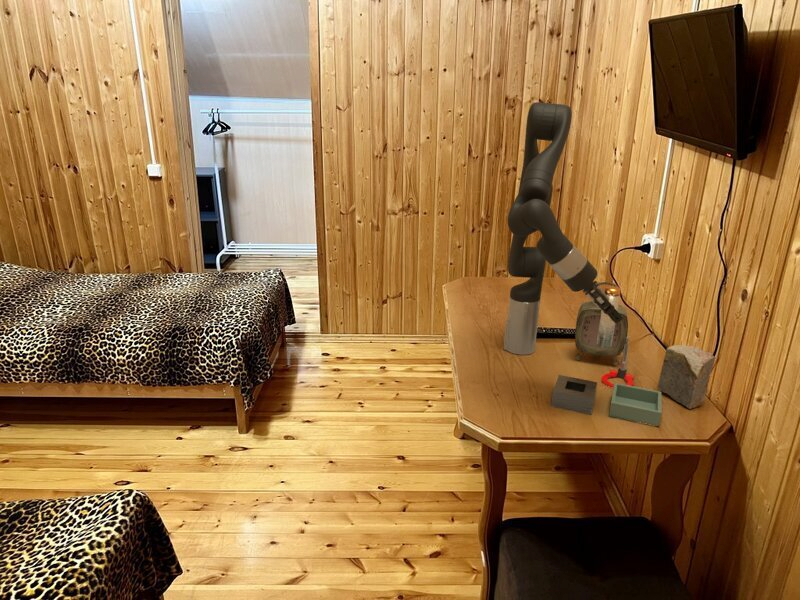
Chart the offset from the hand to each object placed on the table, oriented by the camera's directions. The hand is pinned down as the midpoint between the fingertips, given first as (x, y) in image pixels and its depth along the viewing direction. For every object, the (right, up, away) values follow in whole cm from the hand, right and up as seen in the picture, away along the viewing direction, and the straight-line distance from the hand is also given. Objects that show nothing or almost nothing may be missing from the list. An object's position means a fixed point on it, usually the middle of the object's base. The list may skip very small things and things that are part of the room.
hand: (616, 317), depth 141 cm
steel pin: (-2, -7, +3) cm, 8 cm away
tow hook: (+8, -19, +21) cm, 30 cm away
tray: (+7, -24, +7) cm, 26 cm away
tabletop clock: (+7, -14, +35) cm, 39 cm away
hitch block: (-8, -23, +10) cm, 26 cm away
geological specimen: (+22, -23, +13) cm, 34 cm away
